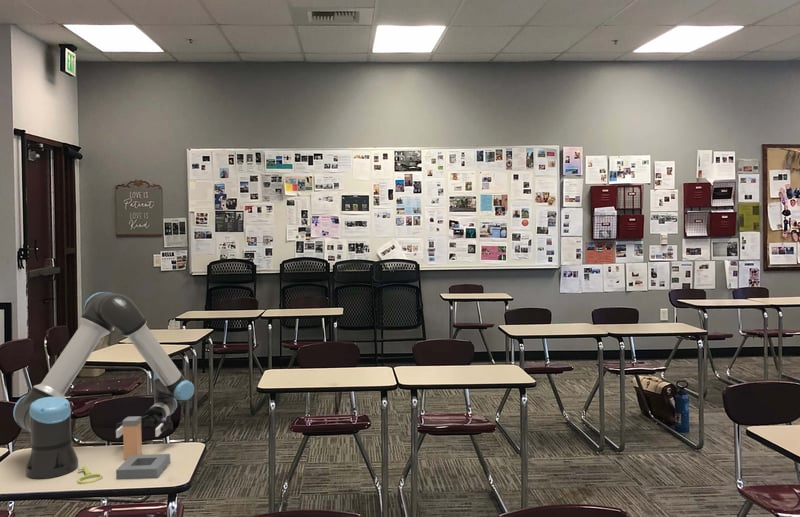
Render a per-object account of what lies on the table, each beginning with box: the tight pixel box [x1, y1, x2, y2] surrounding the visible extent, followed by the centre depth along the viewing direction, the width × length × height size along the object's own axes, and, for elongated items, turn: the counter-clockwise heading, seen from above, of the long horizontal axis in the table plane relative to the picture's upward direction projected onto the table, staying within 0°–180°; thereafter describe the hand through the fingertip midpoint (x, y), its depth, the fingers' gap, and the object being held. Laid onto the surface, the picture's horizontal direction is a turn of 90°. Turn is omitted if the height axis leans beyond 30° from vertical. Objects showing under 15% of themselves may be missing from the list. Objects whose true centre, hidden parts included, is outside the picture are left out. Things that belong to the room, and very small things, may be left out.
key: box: [76, 465, 104, 485], centre depth 198 cm, size 7×12×2 cm, turn 55°
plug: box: [121, 415, 143, 461], centre depth 214 cm, size 5×5×14 cm
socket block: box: [115, 453, 171, 480], centre depth 203 cm, size 13×13×3 cm
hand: (136, 433), depth 217 cm, fingers open, 13 cm apart
